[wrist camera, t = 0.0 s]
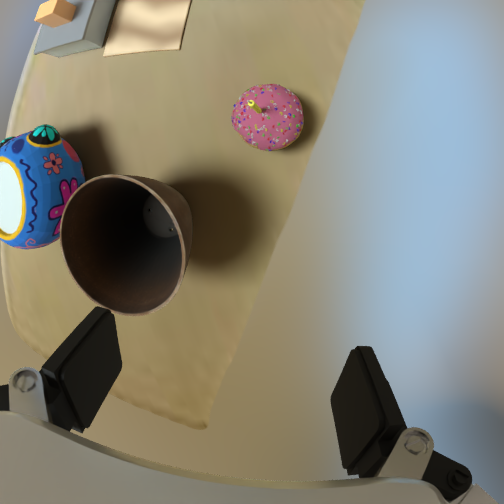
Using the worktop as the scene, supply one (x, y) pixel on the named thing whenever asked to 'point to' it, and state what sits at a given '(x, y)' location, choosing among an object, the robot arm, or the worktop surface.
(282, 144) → the cupcake
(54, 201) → the ceramic pot
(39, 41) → the lid
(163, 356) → the worktop surface
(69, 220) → the plant pot
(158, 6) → the mat
